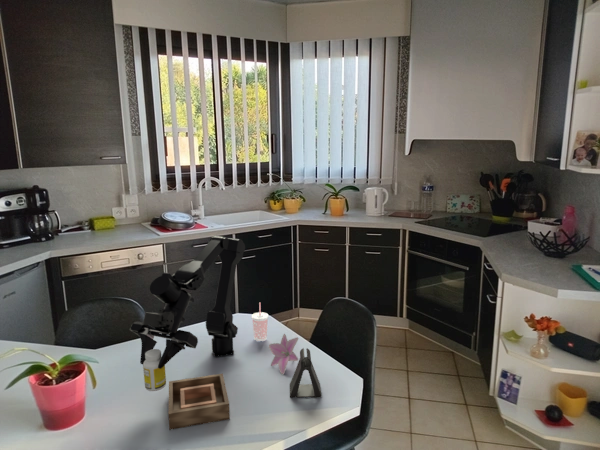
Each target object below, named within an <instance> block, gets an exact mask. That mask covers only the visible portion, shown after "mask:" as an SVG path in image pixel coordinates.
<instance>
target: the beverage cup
mask: <svg viewBox="0 0 600 450" xmlns="http://www.w3.org/2000/svg"><path fill="white" fill-rule="evenodd" d="M258 305H259V307H258V308H259V309H258V310H259V311H258V312H253V314H251V319H252V331H253V340H254V341H255V340H256V341H255V342H258V341H262V342H265V341H267V338H268V320H269V314H268V313H267V312H263V311H261V309H262V308H261V307H262V306H261V302H259V303H258Z"/></svg>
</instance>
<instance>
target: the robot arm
mask: <svg viewBox="0 0 600 450" xmlns="http://www.w3.org/2000/svg"><path fill="white" fill-rule="evenodd" d="M245 249H246V244H245V242H244V241H243V239H241V238H232V237H225V236H220V235H219V236H218V235H214V236H211V238H209V242H208V243H207V244H206V246H204V247H203V248H202V250H201V251H200V252H199V253H198V254H197V256H196V257H195V258H194V259H193V260H191V262H188V263H185V264H182V266H181V267H180V268H178V269H177V270H176V271H175V272H174V273H173V274H171V273H170V272H162V274H161V275H160V276H157V278H155V279H154V280H153V281H151V283H150V286H149V291H150V293H151V294H152V295H153V296H154V297H156V298H157V299H158V300H159V301H160V302H162V303H164V304H165V305H164V307H163V308H160V309H159V310H158V312H144V316H143V321H142V322H141V321H134V322H132V324H131V326H130V328H129V331H130V332H132V333H134V334H135V335H137V336H138V337H139V338H140V343H141V349H140V350H141V351H140V365H143V363H144V361H145V360H146V359H145V353H146V352H147V351H149V350H152V349H155V346H156V345H157V343H158V341H156V340H155V339H154V338H155V337H157V338H158V337H159V338H163V339H165V348H164V350H163V353H162V354H161V359H160V362H159V365H158V368H159V369H161V368H162V367H163V366H164V365H165V366H166V364H168V362H170V361H171V360H172V359H173V358H174V357H175V356H176V355H178V354H179V353H180V351H182V350H186V348H191V349H196V348H197V346H198V343H199V341H198V340H199V339H198V336H196V335H194V334H193V333H191V332H190V331H187V330H183V329H182V330H181V329H179V328H180V325H181V323H185V321H186V319H185V317H184V315H185V313H186V311H187V308H188V306H189V304H190V303H194V302H195V298H194V296H193V293H192V292H189V291H197V290H199V289H200V288H201V286H202V284H203V282H204V281H205V276H206V275H205V273H206V271H207V270H208V269H209V267H211V265H212V264H214V261H216V259H217V258H218V257H219V261H220V262H221V265H220V272H219V277H218V284H217V285H218V286H217V292H216V297H215V303H214V307H213V308H212V309H211V310H208V312H207V313H206V321H205V328H206V331H207V334H208V336H211V337H212V338H211V351H212V354H213V356H214V357H215V358H217V357H224V356H225V357H226V356H231V355H234V354H235V351H234V338H237V336H236V335H237V334H238V330H239V327H237V325H235V324H234V322H233V320H234V316H233V313H232V310H231V308H230V307H231V303H232V301H231V300H232V295H233V289H234V282H235V276H236V270H237V265H238V264H239V263H240V261H241V260H242V259H243V257H244V252H245ZM186 290H189V291H186Z"/></svg>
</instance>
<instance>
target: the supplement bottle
mask: <svg viewBox="0 0 600 450" xmlns="http://www.w3.org/2000/svg"><path fill="white" fill-rule="evenodd" d="M161 357H162V351H161V349H158V348H153V349H152V350H149V351H147V352H146V353H145V359H146V360H145V361H144V363H143V364H142V368H143V370H142V371H143V380H144V388H145V390H146V391H148V392H158V391H160V390H162V389H164V388H165V387H166V385H167V376H166V364H165V365H164V366H163V367H162V368H161V369H159V368H158V365H159V362H160V359H161Z"/></svg>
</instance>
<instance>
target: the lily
mask: <svg viewBox="0 0 600 450" xmlns="http://www.w3.org/2000/svg"><path fill="white" fill-rule="evenodd" d="M281 337H282V338H281V340H280V343H278V342H277V343H275V342H274V343H270V344H268V348H269V351H270V352H271V353H272V354H273V355H274V356H273V359H272V361H271V363H270V367H274V366H276V365H277V366H278V369H279V371H280V374H281V375H282V374H283V375H282V376H284V374H285V372H286V369H287V366H288V362H299V358H298V356H297V355H296V353H295V352H294V349H295V347H296V345H297V343H298V341H299V337H294V338H291V339H288V338H287V336H286V333H283V334H282V336H281Z"/></svg>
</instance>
